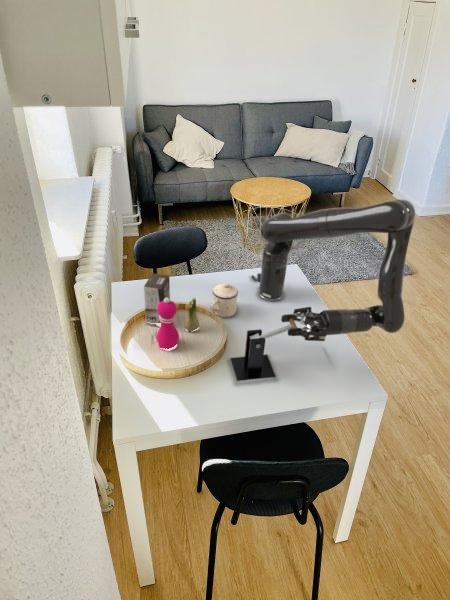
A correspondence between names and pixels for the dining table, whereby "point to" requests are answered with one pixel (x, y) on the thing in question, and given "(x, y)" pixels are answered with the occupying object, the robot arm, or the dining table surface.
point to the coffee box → (155, 296)
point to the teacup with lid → (224, 299)
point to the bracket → (253, 360)
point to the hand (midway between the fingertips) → (285, 325)
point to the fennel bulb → (192, 317)
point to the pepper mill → (167, 324)
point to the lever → (275, 331)
